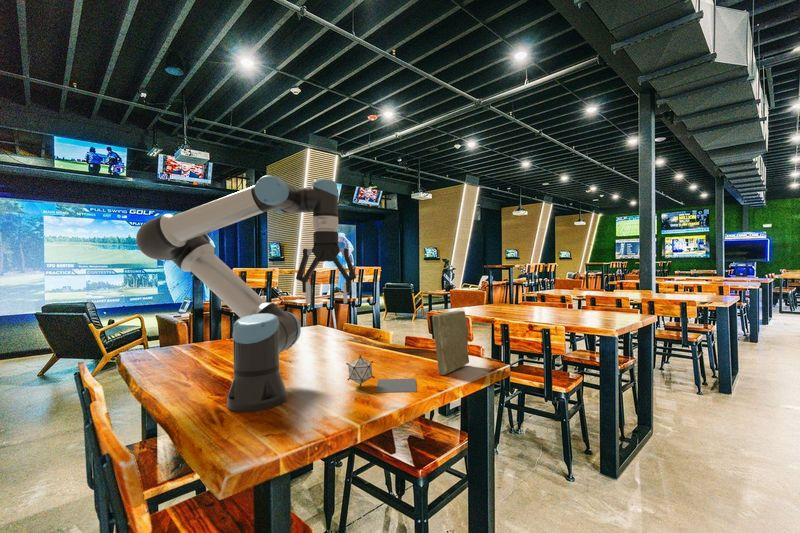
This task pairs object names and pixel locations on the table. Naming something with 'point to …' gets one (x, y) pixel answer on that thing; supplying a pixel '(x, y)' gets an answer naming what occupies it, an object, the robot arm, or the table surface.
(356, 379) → the game die
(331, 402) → the table surface
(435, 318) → the decorative tile
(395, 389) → the mat
